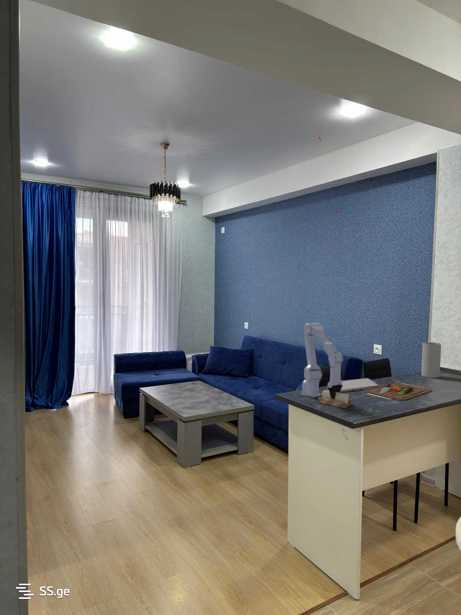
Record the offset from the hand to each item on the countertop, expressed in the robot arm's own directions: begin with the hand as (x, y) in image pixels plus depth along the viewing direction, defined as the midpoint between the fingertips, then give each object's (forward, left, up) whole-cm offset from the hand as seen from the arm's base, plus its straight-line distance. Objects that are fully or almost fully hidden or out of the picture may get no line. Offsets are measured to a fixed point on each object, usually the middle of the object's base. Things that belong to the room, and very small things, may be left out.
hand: (334, 398), depth 231 cm
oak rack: (0, 0, -3) cm, 3 cm away
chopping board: (+17, +54, -4) cm, 57 cm away
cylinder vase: (+20, +117, -3) cm, 119 cm away
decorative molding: (-7, +41, -4) cm, 42 cm away
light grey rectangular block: (0, 0, -2) cm, 2 cm away
